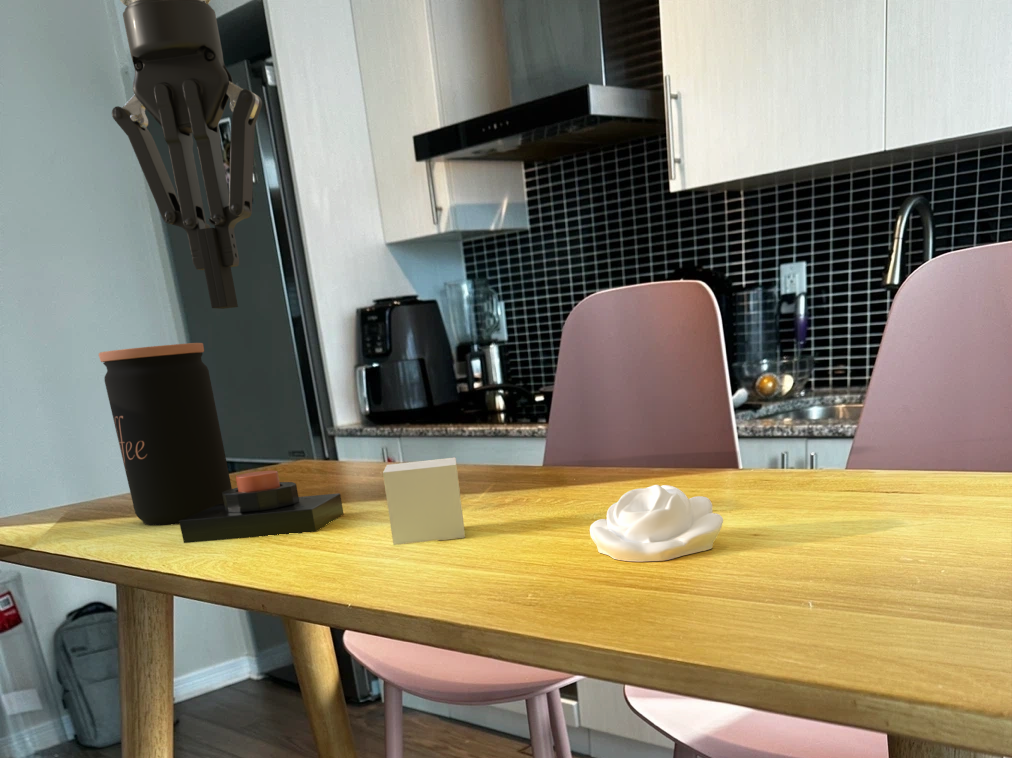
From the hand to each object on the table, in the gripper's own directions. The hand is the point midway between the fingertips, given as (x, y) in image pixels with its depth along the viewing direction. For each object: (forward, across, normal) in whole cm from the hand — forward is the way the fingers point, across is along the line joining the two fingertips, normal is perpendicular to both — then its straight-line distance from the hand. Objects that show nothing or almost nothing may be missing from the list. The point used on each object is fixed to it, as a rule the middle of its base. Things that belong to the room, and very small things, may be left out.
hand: (225, 307), depth 94 cm
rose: (+21, -38, +25) cm, 50 cm away
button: (+17, 0, 0) cm, 17 cm away
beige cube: (+21, -19, +12) cm, 30 cm away
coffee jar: (+21, +14, -13) cm, 28 cm away
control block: (+20, 0, 0) cm, 20 cm away
